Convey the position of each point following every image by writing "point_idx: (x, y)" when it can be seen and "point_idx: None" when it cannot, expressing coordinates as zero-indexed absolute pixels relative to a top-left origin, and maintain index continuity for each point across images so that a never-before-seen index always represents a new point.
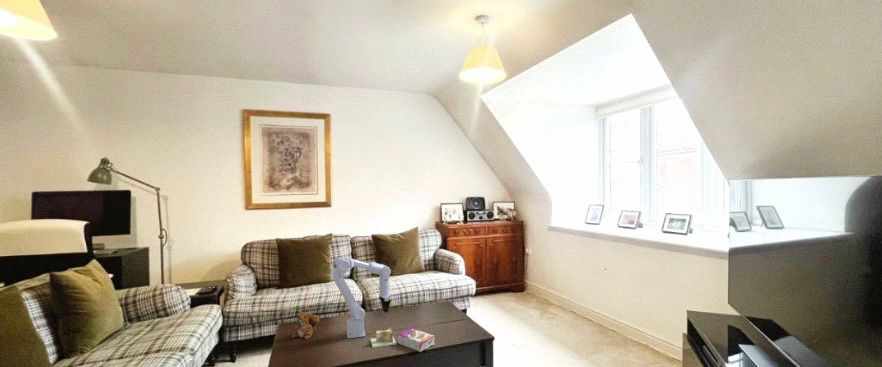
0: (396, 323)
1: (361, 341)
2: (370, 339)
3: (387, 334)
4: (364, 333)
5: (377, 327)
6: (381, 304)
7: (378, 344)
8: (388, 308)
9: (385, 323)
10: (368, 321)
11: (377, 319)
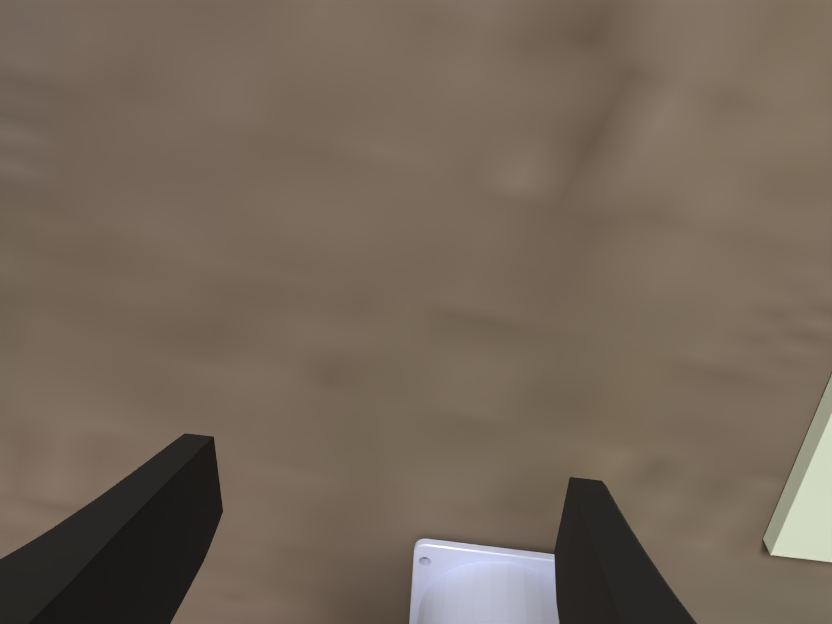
0: (270, 45)
1: (726, 614)
2: (767, 547)
3: None
4: (533, 563)
5: (349, 373)
6: (169, 620)
7: None
8: (652, 562)
9: (217, 232)
10: (81, 423)
11: (16, 303)
